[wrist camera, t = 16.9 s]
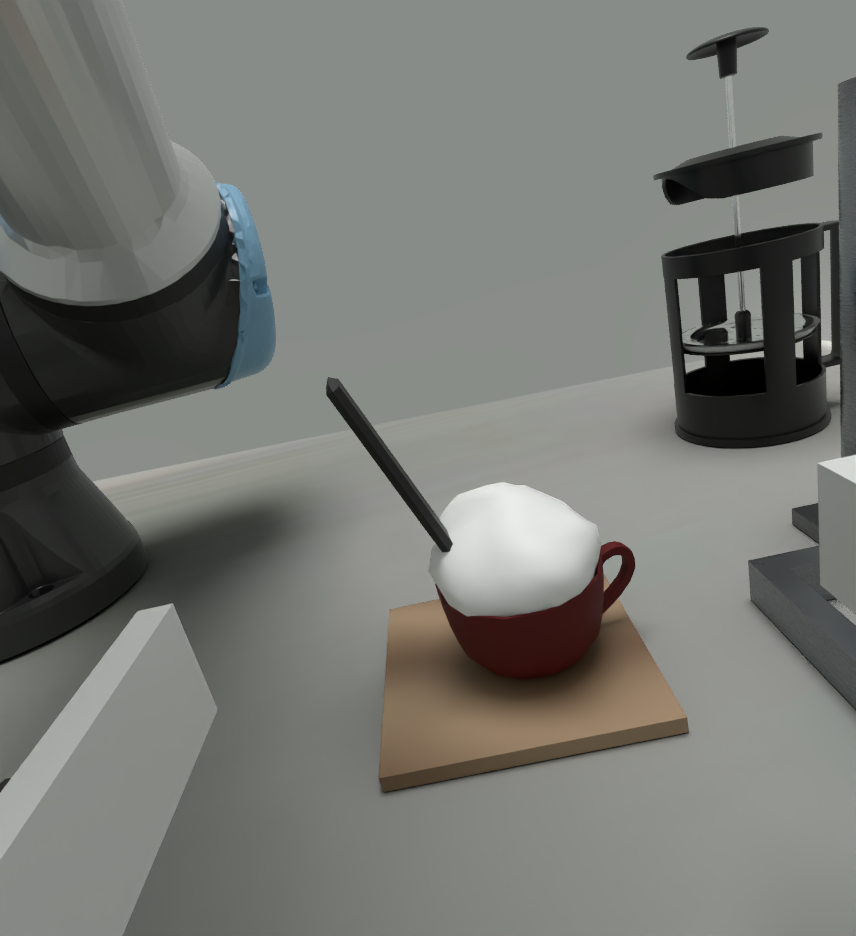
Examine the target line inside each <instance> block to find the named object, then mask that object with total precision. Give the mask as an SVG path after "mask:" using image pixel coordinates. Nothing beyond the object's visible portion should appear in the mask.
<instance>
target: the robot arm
mask: <svg viewBox="0 0 856 936" xmlns="http://www.w3.org/2000/svg"><path fill="white" fill-rule="evenodd" d="M275 345H276V331H275V318H274V310H273V303H272V297H271V292H270V289H269V287H268V285H267V275H266V267H265V260H264V256H263V252H262V248H261V244H260V241H259V237H258V233H257V230H256V227H255V223H254V221H253V218H252V215H251V212H250V210H249V207H248V205H247V202H246V200H245V198H244V196H243V195H242V193H241V192H240V191H239V189H237V188H236V187H235V186H233V185H230V184H219V183H217V182H215V181H214V179H213V177H212V175H211V174H210V173H209V171H208V169H207V168H206V167H205V166H204V164H203V163H202V162H201V161H200V160H199V159H198V158H197V157H196V156H195V155H193V154H192V153H191V152H189V151H188V150H186V149H185V148H183V147H182V146H180V145H178V144H176V143H174V142H172V141H170V138H169V135H168V132H167V129H166V127H165V124H164V121H163V118H162V115H161V112H160V109H159V107H158V103H157V100H156V98H155V95H154V92H153V89H152V86H151V83H150V80H149V77H148V74H147V72H146V69H145V66H144V63H143V60H142V57H141V54H140V51H139V49H138V46H137V43H136V40H135V37H134V34H133V31H132V28H131V25H130V23H129V20H128V17H127V14H126V11H125V8H124V5H123V2H122V0H0V661H2V660H5V659H7V658H10V657H12V656H15V655H17V654H20V653H22V652H24V651H27V650H29V649H31V648H34V647H36V646H38V645H40V644H42V643H44V642H46V641H48V640H50V639H52V638H54V637H56V636H58V635H60V634H62V633H64V632H66V631H68V630H70V629H71V628H73V627H75V626H77V625H78V624H80V623H82V622H84V621H85V620H87V619H88V618H90V617H92V616H93V615H95V614H96V613H98V612H99V611H101V610H102V609H104V608H105V607H107V606H108V605H109V604H111V603H112V602H113V601H115V600H116V599H117V598H119V597H120V596H121V595H122V594H123V593H125V592H126V591H127V590H128V589H129V588H130V587H131V586H132V585H133V584H134V583H135V582H136V581H137V580H138V579H139V577H140V576H141V575H142V573H143V572H144V570H145V568H146V566H147V563H148V556H147V553H146V551H145V549H144V546H143V544H142V542H141V539H140V537H139V535H138V532H137V531H136V529H135V528H134V526H133V525H132V524H131V523H130V522H129V521H127V520H126V519H125V517H124V516H123V515H122V514H121V513H120V512H119V510H118V509H117V508H116V507H115V506H114V505H113V504H112V503H111V501H110V500H109V499H108V498H107V497H106V496H105V495H104V494H103V493H102V492H101V491H100V490H99V488H98V487H97V486H96V485H95V484H94V483H93V482H92V481H91V480H90V479H89V478H88V477H87V476H86V475H85V473H84V472H83V471H82V470H81V469H80V468H79V466H78V465H77V463H76V461H75V459H74V457H73V455H72V453H71V451H70V448H69V446H68V444H67V442H66V439H65V437H64V435H63V431H62V429H63V428H66V427H70V426H74V425H77V424H81V423H84V422H87V421H91V420H95V419H98V418H102V417H106V416H109V415H113V414H117V413H120V412H124V411H128V410H132V409H136V408H140V407H143V406H147V405H151V404H155V403H159V402H163V401H167V400H170V399H175V398H178V397H182V396H186V395H190V394H194V393H197V392H201V391H205V390H209V389H213V388H214V389H219V388H223V387H225V386H227V385H228V384H230V383H231V382H232V381H235V380H238V379H241V378H244V377H247V376H250V375H253V374H256V373H258V372H261V371H262V370H264V368H266V367H267V366H268V365H269V363H270V362H271V360H272V357H273V355H274V351H275ZM817 464H818V509H819V554H820V585H821V586H822V587H823V588H825V589H826V590H827V591H828V592H830V593H831V594H832V595H833V596H834V597H836V598H837V599H838V600H839V601H840V602H842V603H843V604H844V605H845V606H846V607H848V608H849V609H850V610H851V611H852V612H854V613H855V614H856V455H852V456H847V457H843V458H838V459H834V460H829V461H824V462H820V463H817ZM217 710H218V709H217V706H216V704H215V702H214V699H213V697H212V695H211V692H210V690H209V688H208V685H207V683H206V680H205V678H204V676H203V673H202V671H201V669H200V666H199V664H198V662H197V659H196V657H195V654H194V652H193V650H192V647H191V645H190V643H189V640H188V638H187V636H186V633H185V631H184V628H183V626H182V624H181V621H180V619H179V617H178V614H177V612H176V610H175V607H174V605H173V603H172V604H168V605H163V606H159V607H154V608H149V609H145V610H140V611H137V612H136V614H135V615H134V616H133V618H132V619H131V620H130V622H129V623H128V624H127V626H126V627H125V628H124V630H123V631H122V632H121V634H120V635H119V636H118V638H117V639H116V640H115V641H114V643H113V644H112V645H111V647H110V648H109V649H108V651H107V652H106V653H105V655H104V656H103V657H102V659H101V660H100V661H99V663H98V664H97V665H96V667H95V668H94V669H93V671H92V672H91V673H90V675H89V676H88V677H87V679H86V680H85V681H84V683H83V684H82V685H81V687H80V688H79V689H78V690H77V692H76V693H75V694H74V696H73V697H72V698H71V700H70V701H69V702H68V704H67V705H66V706H65V708H64V709H63V710H62V712H61V713H60V714H59V716H58V717H57V718H56V720H55V721H54V722H53V724H52V725H51V726H50V728H49V729H48V730H47V732H46V733H45V734H44V735H43V737H42V738H41V739H40V741H39V742H38V743H37V745H36V746H35V747H34V749H33V750H32V751H31V753H30V754H29V755H28V757H27V758H26V759H25V761H24V762H23V763H22V765H21V766H20V767H19V769H18V770H17V771H16V773H15V774H14V775H13V777H12V778H9V779H5V780H4V781H3V782H2V783H0V936H123V933H124V931H125V929H126V926H127V924H128V922H129V919H130V917H131V914H132V912H133V910H134V907H135V905H136V903H137V900H138V898H139V896H140V893H141V891H142V888H143V886H144V884H145V881H146V879H147V877H148V874H149V872H150V869H151V867H152V865H153V862H154V860H155V858H156V855H157V853H158V850H159V848H160V846H161V843H162V841H163V839H164V836H165V834H166V831H167V829H168V827H169V824H170V822H171V820H172V817H173V815H174V812H175V810H176V808H177V805H178V803H179V801H180V798H181V796H182V793H183V791H184V789H185V786H186V784H187V782H188V779H189V777H190V774H191V772H192V770H193V767H194V765H195V763H196V760H197V758H198V756H199V753H200V751H201V748H202V746H203V744H204V741H205V739H206V737H207V734H208V732H209V729H210V727H211V725H212V722H213V720H214V718H215V715H216V713H217Z"/></svg>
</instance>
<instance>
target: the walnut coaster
mask: <svg viewBox="0 0 856 936" xmlns="http://www.w3.org/2000/svg"><path fill="white" fill-rule="evenodd" d="M603 575H604V574H603ZM609 585H610V584H609V582H608V580H607V579H606V577H605V575H604V591H605V590H606V589H607V588H608V587H609ZM687 732H689V730H688V721H687V716H686V715H685V713H684V711H683V710H682V708H681V706H680V704H679V703H678V701H677V699H676V697H675V696H674V694H673V692H672V691H671V689H670V687H669V685H668V684H667V682H666V680H665V679H664V677H663V675H662V673H661V672H660V670H659V668H658V667H657V665H656V663H655V661H654V660H653V658H652V656H651V654H650V653H649V651H648V649H647V648H646V646H645V644H644V642H643V641H642V639H641V637H640V636H639V634H638V632H637V630H636V629H635V627H634V625H633V623H632V622H631V620H630V618H629V617H628V615H627V613H626V611H625V610H624V608H623V606H622V605H621V603H620V601H619V599H617V600H616V601H615V602H614V603H613V604H612V605H611V606H610V607H609V608H608V609H607V610H606V612H605V613H604V614H603V615H602V621H601V626H600V632H599V635H598V637H597V638H596V639H595V641H594V642H593V643H592V645H591V646H590V647H589V648H588V650H587V651H586V652H585V653H584V655H583V656H582V657H581V658H580V660H579V661H578V662H577V663H575V664H574V665H572V666H570V667H568V668H566V669H564V670H562V671H560V672H558V673H556V674H554V675H550V676H544V677H538V678H532V679H525V680H524V679H517V678H511V677H504V676H498V675H496V674H495V673H493V672H491V671H490V670H488V669H487V668H485V667H483V666H482V665H480V664H478V663H477V662H475V661H474V660H472V659H471V658H469V657H468V656H467V655H466V653H465V652H464V650H463V648H462V647H461V645H460V644H459V642H458V640H457V638H456V637H455V635H454V633H453V631H452V629H451V627H450V625H449V622H448V620H447V617H446V615H445V612H444V610H443V607H442V604H441V601H440V599H437V600H433V601H428V602H423V603H419V604H414V605H409V606H404V607H400V608H395V609H390V613H389V629H388V644H387V660H386V675H385V691H384V706H383V721H382V737H381V752H380V768H379V780H380V783H381V786H382V790H383V792H387V791H392V790H397V789H402V788H408V787H413V786H418V785H423V784H428V783H433V782H438V781H443V780H448V779H453V778H458V777H463V776H469V775H474V774H479V773H484V772H489V771H494V770H499V769H504V768H509V767H514V766H519V765H524V764H530V763H535V762H540V761H545V760H550V759H555V758H560V757H565V756H570V755H575V754H580V753H586V752H591V751H596V750H601V749H606V748H611V747H616V746H621V745H626V744H631V743H636V742H641V741H647V740H652V739H657V738H662V737H667V736H672V735H677V734H682V733H687Z"/></svg>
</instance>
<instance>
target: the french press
mask: <svg viewBox="0 0 856 936" xmlns="http://www.w3.org/2000/svg"><path fill="white" fill-rule="evenodd" d="M768 32H769V30H768V29H767V28H764V27H753V28H746V29H742V30H737V31H734V32H730V33H727V34H724V35H721V36H719V37H716V38H714V39H711V40H709V41H707V42H705V43H703V44H701V45H699V46H698V47H696V48H695V49H693V50H692V51H691V52H690V53H688V55H687V57H686V58H687V59H688V60H696V59H702V58H706V57H710V56H714V55H717V58H718V67H719V77H720V79H722V78H725V85H726V100H727V116H728V132H729V133H728V134H729V149H725V150H722V151H718V152H714V153H711V154H707V155H703V156H699V157H696V158H693V159H689V160H687V161H685V162H683V163H682V164H680V165H679V166H677V167H675V168H674V169H672V170H671V171H667V172H663V173H660V174H656V175H654V176H653V177H654V180H657V179H662V188H663V192H664V195H665V198H666V199H667V200H668V202H669V203H670V204H672V205H680V204H684V203H688V202H692V201H696V200H700V199H704V198H726V197H731V196H732V198H733V215H734V230H735V235H731V236H727V237H722V238H717V239H713V240H709V241H705V242H700V243H697V244H693V245H689V246H685V247H682V248H679V249H675V250H672V251H669V252H667V253H665V254H663V255H662V256H661V257H662V267H663V276H664V282H665V292H666V302H667V311H668V322H669V332H670V342H671V351H672V361H673V373H674V388H675V398H676V408H677V419H676V421H675V430H676V433H677V434H678V435H679V436H680V437H681V438H683V439H685V440H686V441H689V442H692V443H695V444H700V445H705V446H712V447H724V448H746V447H760V446H770V445H776V444H781V443H787V442H791V441H795V440H799V439H802V438H805V437H807V436H810V435H813V434H815V433H817V432H819V431H821V430H822V429H823V428H825V427H826V426H827V425H828V423H829V421H830V419H831V412H830V408H829V407H828V406H827V401H826V367H830V366H834V365H839V364H840V282H839V221H827V222H823V223H806V224H796V225H788V226H782V227H775V228H768V229H762V230H757V231H751V232H746V233H741V227H740V210H739V195H740V194H744V193H748V192H752V191H757V190H761V189H765V188H770V187H773V186H778V185H782V184H786V183H789V182H793V181H797V180H801V179H805V178H808V177H811V176H813V141H814V140H818V139H821V138H822V133H818V134H814V135H809V136H805V137H790V136H778V137H774V138H769V139H766V140H762V141H757V142H753V143H749V144H745V145H741V146H737V147H736V142H735V124H734V107H733V90H732V75H735V74H736V73H737V48H739V47H742V46H744V45H747V44H749V43H752V42H754V41H756V40H758V39H760V38H762V37H764V36H765V35H767V34H768ZM826 230H830V253H831V254H830V255H831V256H830V259H831V331H832V333H831V334H832V350H831V353H830V354H828V355H825V356H821V308H820V260H819V259H820V258H819V251H821V250H822V249H823V248H824V231H826ZM799 258H801V284H802V314H796V313H794V297H793V269H792V267H793V266H792V260H795V259H799ZM756 268H760V284H761V303H762V315H754V316H751V314H750V312H749V311H748V310H745V297H744V278H743V271H746V270H751V269H756ZM735 272H737V280H738V296H739V311H738V312H736V314H735V318H733V319H728V320H727V310H726V296H725V283H724V274H728V273H735ZM688 278H698V284H699V296H700V308H701V320H702V326H699V327H695V328H693V329H690V330H687V331H685V332H683V333H682V328H681V317H680V306H679V295H678V286H677V285H678V284H677V279H688ZM802 340H803V354H804V358H798V357H795V343H797V342H800V341H802ZM759 351H764V357H757V358H747V359H739V360H733V361H730V355H734V354H744V353H752V352H759ZM684 354H690V355H703V356H704V357H705V367H702V368H699V369H695V370H693V371H690V372H688V373H686V371H685V360H684Z"/></svg>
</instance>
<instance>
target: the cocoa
mask: <svg viewBox="0 0 856 936" xmlns="http://www.w3.org/2000/svg"><path fill="white" fill-rule="evenodd" d="M326 394H327V396H328V398H329V399H330V400H331V402H332V403H333V405H334V406H335V407H336V409H337V410H338V411H339V412H340V414H341V415H342V417H343V418H344V420H345V421H346V422H347V424H348V425H349V426H350V428H351V429H352V430H353V432H354V433H355V434H356V436H357V437H358V439H359V440H360V441H361V443H362V444H363V445H364V447H365V448H366V449H367V451H368V452H369V453H370V455H371V456H372V458H373V459H374V460H375V462H376V463H377V464H378V466H379V467H380V468H381V470H382V471H383V473H384V474H385V475H386V477H387V478H388V479H389V481H390V482H391V483H392V485H393V486H394V487H395V489H396V490H397V492H398V493H399V494H400V496H401V497H402V498H403V500H404V501H405V502H406V504H407V505H408V506H409V508H410V509H411V511H412V512H413V513H414V515H415V516H416V517H417V519H418V520H419V521H420V523H421V524H422V526H423V527H424V528H425V530H426V531H427V532H428V534H429V535H430V536H431V538H432V539H433V540H434V542H433V548H432V552H431V558H430V564H429V570H428V571H429V573H430V575H431V576H432V578H433V580H434V581H435V583H436V584H435V585H436V588H437V592H438V595H439V598H440V601H441V604H442V607H443V610H444V612H445V615H446V617H447V620H448V622H449V625H450V627H451V629H452V631H453V633H454V635H455V637H456V638H457V640H458V642H459V644H460V645H461V647H462V648H463V650H464V652H465V653H466V655H467V656H468V657H469V658H471V659H472V660H474V661H475V662H477V663H478V664H480V665H482V666H483V667H485V668H487V669H488V670H490V671H491V672H493V673H495V674H496V675H498V676H504V677H511V678H517V679H524V680H525V679H532V678H538V677H544V676H550V675H554V674H556V673H558V672H560V671H562V670H564V669H566V668H568V667H570V666H572V665H574V664H575V663H577V662H578V661H579V660H580V658H581V657H582V656H583V655H584V653H585V652H586V651H587V650H588V648H589V647H590V646H591V645H592V643H593V642H594V641H595V639H596V638H597V637H598V635H599V632H600V626H601V621H602V615H603V614H604V613H605V612H606V610H607V609H608V608H609V607H610V606H611V605H612V604H613V603H614V602H615V601H616V600H617V599H618V597H619V596H620V595H621V594H622V592H623V591H624V589H625V588H626V586H627V585H628V583H629V582H630V580H631V578H632V575H633V573H634V569H635V558H634V556H633V553H632V551H631V550H630V549H629V548H628V547H626V546H625V545H624V544H622V543H620V542H615V541H614V542H609V543H606V544H604V545H602V546H601V544H600V539H599V534H598V529H597V525H595V524H593V523H592V522H590V521H588V520H586V519H585V518H583V517H582V516H581V515H579V514H578V513H576V512H575V511H574V510H572V509H571V508H570V507H569V506H568V505H566V504H565V503H564V502H563V501H561V500H558V499H556V498H554V497H551V496H549V495H547V494H544V493H542V492H540V491H537V490H535V489H533V488H530V487H528V486H526V485H512V484H509V483H505V482H501V483H495V484H490V485H486V486H483V487H480V488H476V489H473V490H470V491H467V492H464V493H461V494H458V495H457V496H456V497H455V498H454V499H453V500H452V501H451V502H450V503H449V505H448V506H447V507H446V509H445V510H444V512H443V513H442V515H441V516H440V518H438V517H437V515H436V514H435V513H434V511H433V510H432V509H431V507H430V506H429V504H428V503H427V502H426V500H425V499H424V497H423V496H422V495H421V493H420V492H419V490H418V489H417V488H416V486H415V485H414V484H413V482H412V481H411V479H410V478H409V477H408V475H407V474H406V472H405V471H404V470H403V468H402V467H401V465H400V464H399V463H398V461H397V460H396V459H395V457H394V456H393V454H392V453H391V452H390V450H389V449H388V447H387V446H386V445H385V443H384V442H383V440H382V439H381V438H380V436H379V435H378V434H377V432H376V431H375V429H374V428H373V427H372V425H371V424H370V422H369V421H368V420H367V418H366V417H365V415H364V414H363V413H362V411H361V410H360V408H359V407H358V406H357V404H356V403H355V402H354V400H353V399H352V397H351V396H350V395H349V393H348V392H347V390H346V389H345V388H344V386H343V385H342V383H341V382H340V381H339V379H335V378H329V377H328V381H327V386H326ZM613 555H621V556H622V565H621V568H620V571H619V573H618V575H617V577H616V578H615V579H614V580H613V582H612V583H611V584H610V585H609V587H608V588H607V589H606V590H605V591H604V575H603V564H604V562H605V561H606V560H607V559H609V558H610V557H612V556H613Z"/></svg>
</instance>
